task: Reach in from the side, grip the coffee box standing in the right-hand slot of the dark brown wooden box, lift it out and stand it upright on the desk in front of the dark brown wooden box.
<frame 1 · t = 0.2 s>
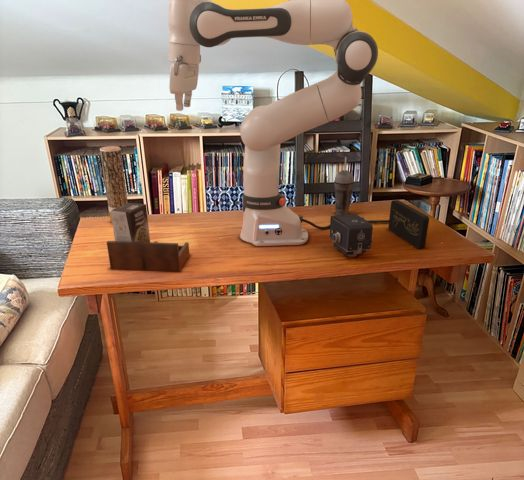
hand: (183, 108, 160), 39 cm above the table, tool pointing down, fingers open, 8 cm apart
dark brown wooden box: (151, 261, 158), on the table
beverage cup: (341, 214, 200), on the table
coffee box: (135, 261, 159), resting in dark brown wooden box
wooden log: (120, 222, 192), on the table
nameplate: (405, 238, 176), on the table
camera: (348, 253, 165), on the table
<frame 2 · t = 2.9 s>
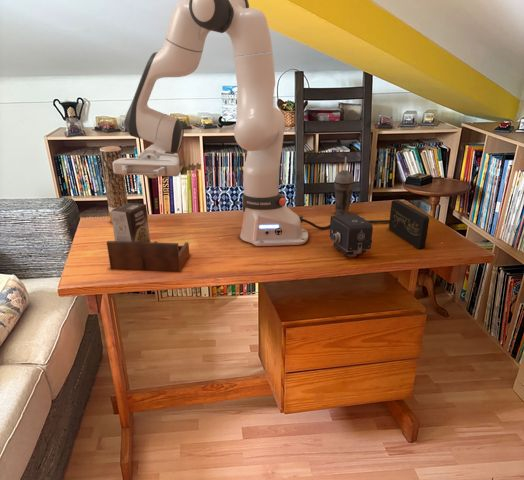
hand: (140, 173, 158), 22 cm above the table, tool horizontal, fingers open, 8 cm apart
nothing on the table moved.
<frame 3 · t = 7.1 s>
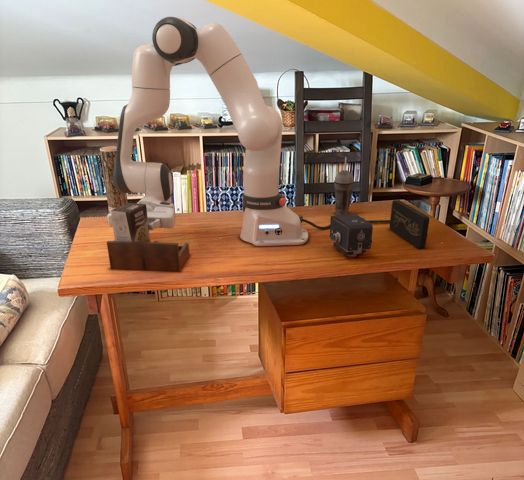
hand: (134, 226, 156), 10 cm above the table, tool horizontal, fingers open, 8 cm apart
coffee box: (135, 261, 159), resting in dark brown wooden box, touching gripper
everything else where it was.
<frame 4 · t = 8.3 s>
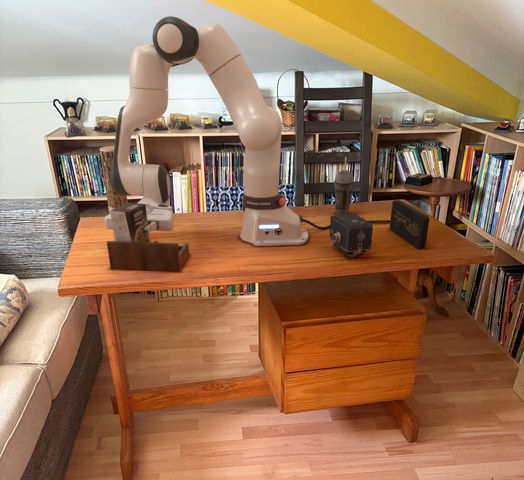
hand: (132, 229, 154), 10 cm above the table, tool horizontal, fingers closed on coffee box, 7 cm apart
coffee box: (135, 261, 159), resting in dark brown wooden box, touching gripper
everything else where it was.
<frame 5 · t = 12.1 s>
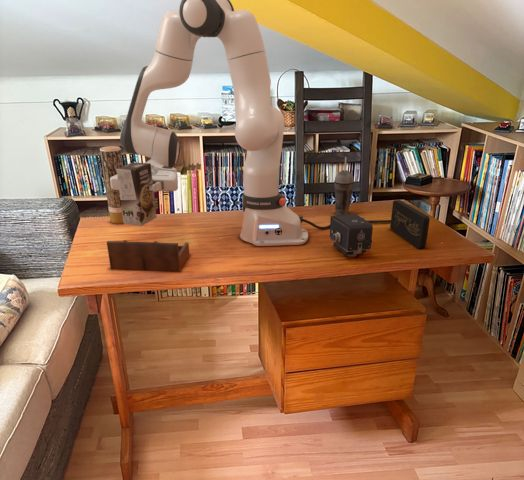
hand: (137, 188, 157), 19 cm above the table, tool horizontal, fingers closed on coffee box, 7 cm apart
coffee box: (140, 221, 162), point 9 cm above the table, touching gripper
everything else where it was.
when the fingers open (9 cm above the table, at t = 15.9 s): coffee box stays where it is, on the table.
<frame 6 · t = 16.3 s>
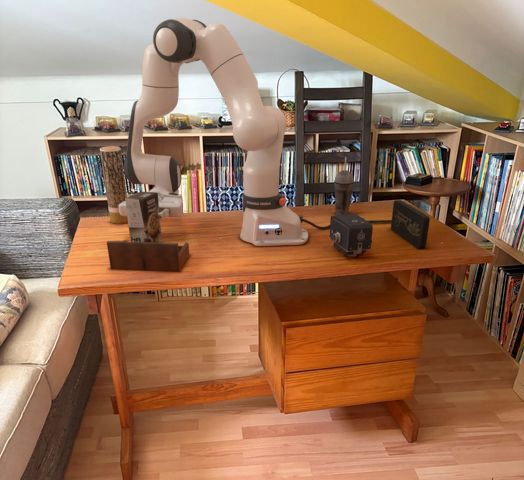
hand: (144, 215, 165), 10 cm above the table, tool horizontal, fingers open, 8 cm apart
coffee box: (147, 246, 170), on the table
everything else where it was.
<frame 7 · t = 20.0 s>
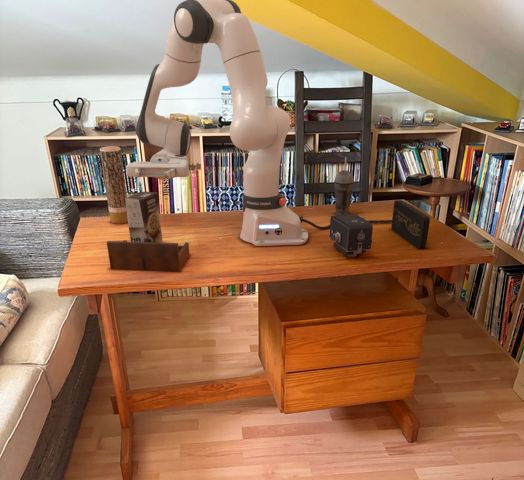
hand: (151, 174, 170), 19 cm above the table, tool horizontal, fingers open, 8 cm apart
nothing on the table moved.
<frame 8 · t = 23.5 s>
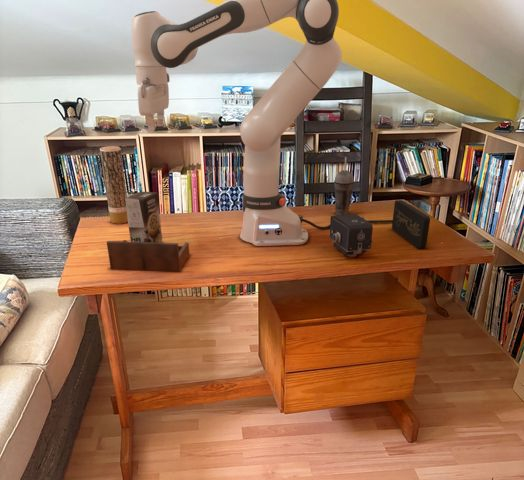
hand: (156, 128, 163), 33 cm above the table, tool pointing down, fingers open, 8 cm apart
nothing on the table moved.
at the end: coffee box inside the target area (0.1 cm from its centre), on the table; coffee box tilted 0°; the gripper is holding nothing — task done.
